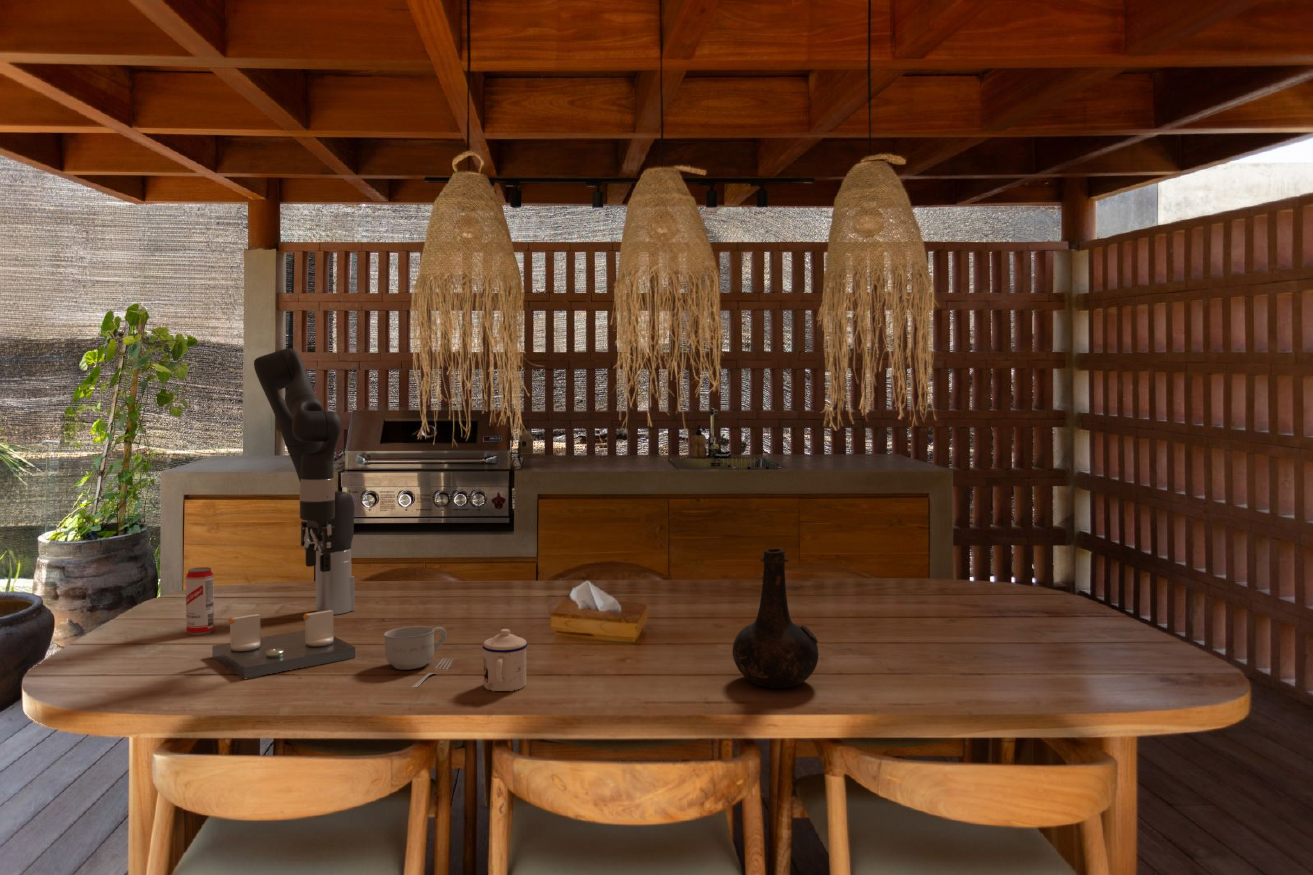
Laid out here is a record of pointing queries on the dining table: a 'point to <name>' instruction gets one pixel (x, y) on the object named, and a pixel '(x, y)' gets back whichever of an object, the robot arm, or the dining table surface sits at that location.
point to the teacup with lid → (504, 662)
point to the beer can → (200, 601)
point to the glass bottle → (775, 635)
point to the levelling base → (281, 655)
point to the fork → (433, 673)
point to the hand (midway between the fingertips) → (317, 568)
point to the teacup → (411, 646)
